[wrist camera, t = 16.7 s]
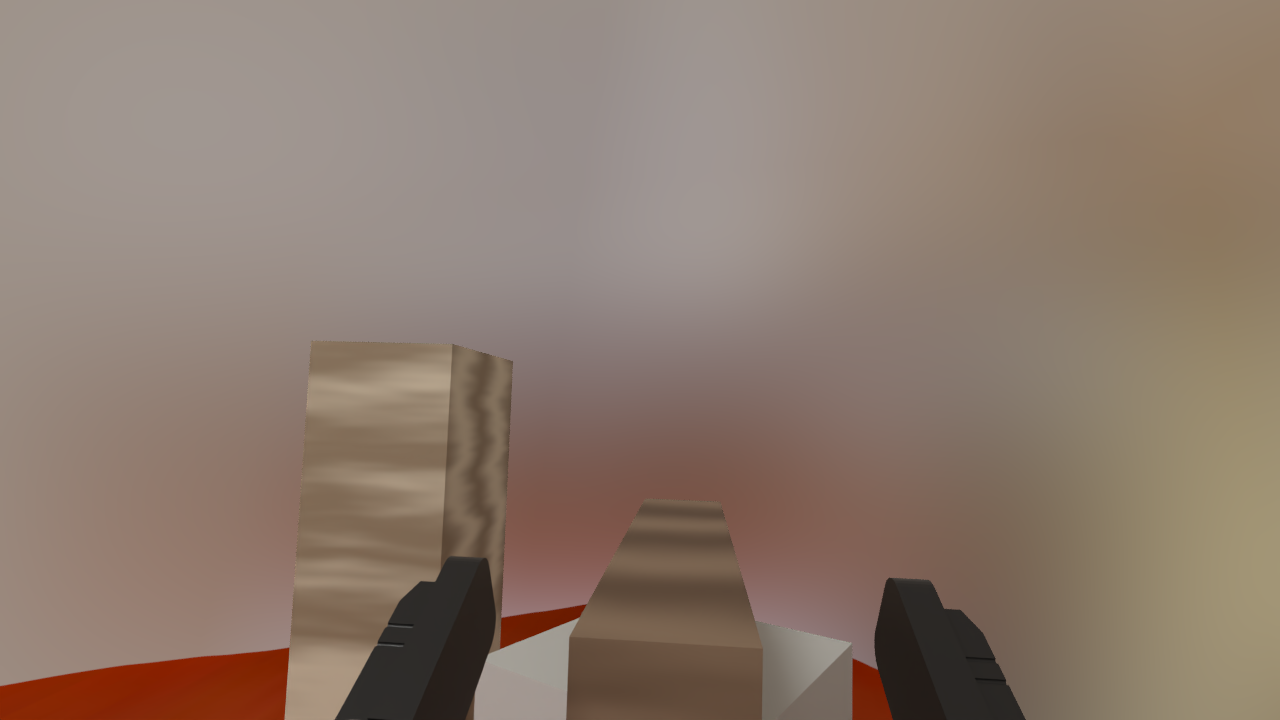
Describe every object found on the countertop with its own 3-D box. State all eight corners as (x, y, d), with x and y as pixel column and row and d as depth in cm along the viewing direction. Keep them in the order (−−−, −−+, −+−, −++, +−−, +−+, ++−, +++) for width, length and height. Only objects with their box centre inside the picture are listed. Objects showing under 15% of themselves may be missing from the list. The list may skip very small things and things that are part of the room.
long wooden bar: (760, 855, 13) (762, 648, 13) (561, 838, 13) (569, 636, 13) (718, 578, 33) (720, 501, 34) (643, 574, 34) (645, 498, 34)
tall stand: (418, 975, 32) (452, 344, 34) (267, 960, 33) (311, 340, 35) (491, 822, 44) (512, 361, 46) (380, 813, 45) (406, 358, 47)
